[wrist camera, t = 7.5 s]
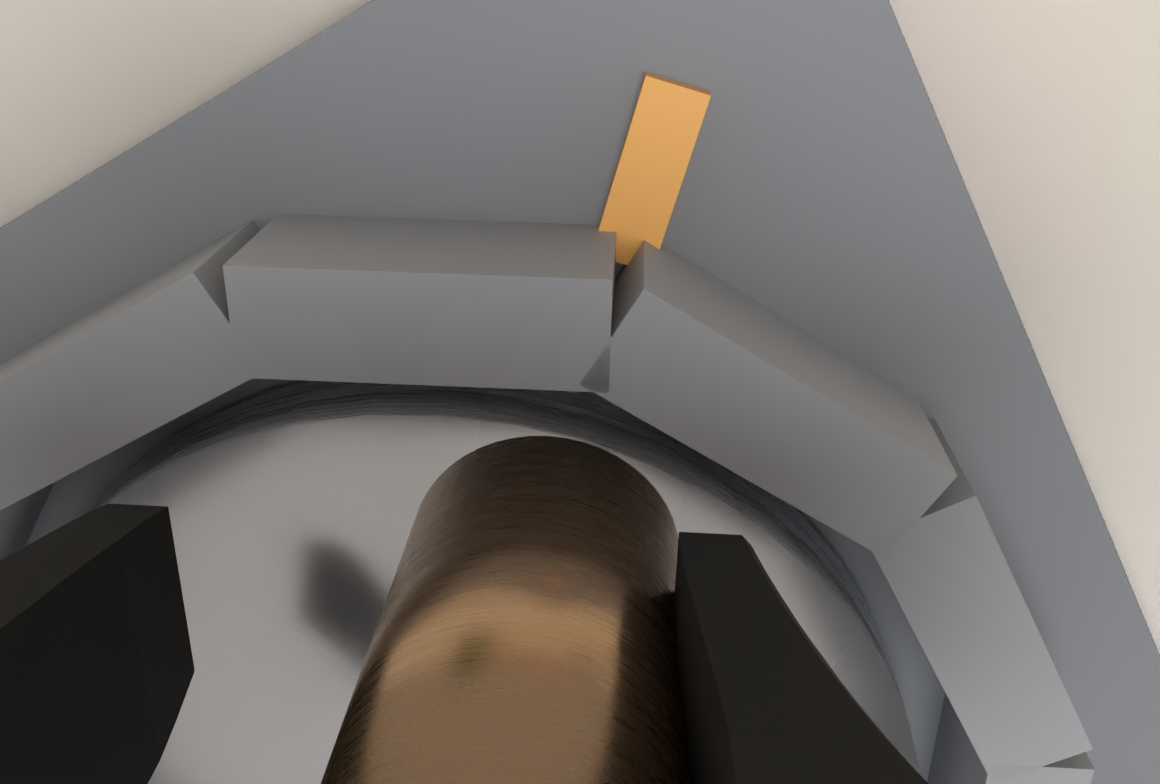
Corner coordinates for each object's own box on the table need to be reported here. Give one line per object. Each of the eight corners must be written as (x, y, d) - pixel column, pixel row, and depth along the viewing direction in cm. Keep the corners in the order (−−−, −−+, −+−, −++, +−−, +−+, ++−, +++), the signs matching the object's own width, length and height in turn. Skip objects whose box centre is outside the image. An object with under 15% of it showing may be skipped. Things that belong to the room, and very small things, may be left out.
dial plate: (329, 1149, 22) (280, 1346, 19) (-367, 455, 16) (-599, 588, 13) (1236, 877, 18) (1355, 1078, 15) (768, -237, 11) (810, -275, 9)
